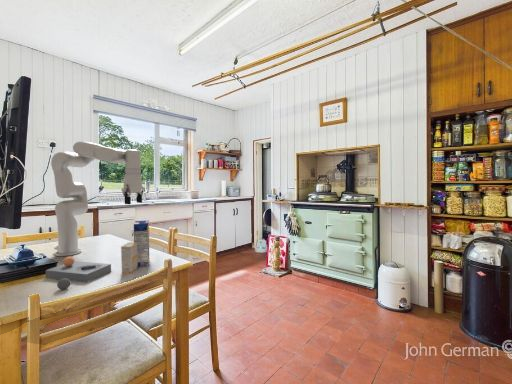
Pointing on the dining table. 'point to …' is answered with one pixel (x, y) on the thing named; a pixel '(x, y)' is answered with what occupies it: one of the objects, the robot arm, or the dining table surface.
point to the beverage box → (142, 242)
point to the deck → (79, 271)
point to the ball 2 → (63, 283)
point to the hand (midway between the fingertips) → (133, 203)
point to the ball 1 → (68, 261)
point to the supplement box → (129, 257)
